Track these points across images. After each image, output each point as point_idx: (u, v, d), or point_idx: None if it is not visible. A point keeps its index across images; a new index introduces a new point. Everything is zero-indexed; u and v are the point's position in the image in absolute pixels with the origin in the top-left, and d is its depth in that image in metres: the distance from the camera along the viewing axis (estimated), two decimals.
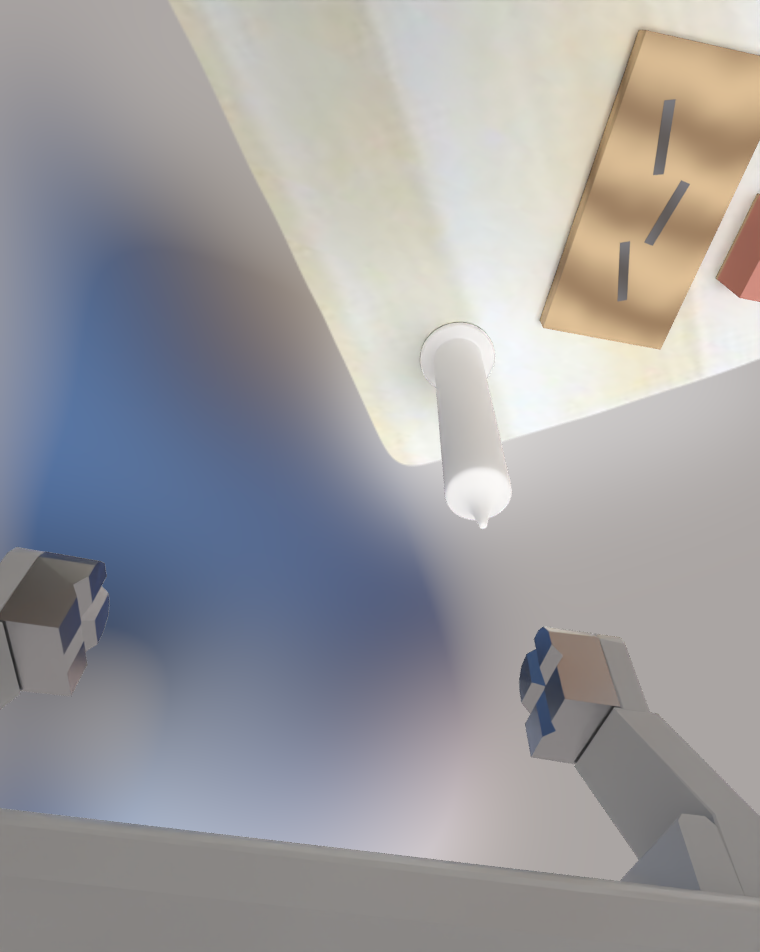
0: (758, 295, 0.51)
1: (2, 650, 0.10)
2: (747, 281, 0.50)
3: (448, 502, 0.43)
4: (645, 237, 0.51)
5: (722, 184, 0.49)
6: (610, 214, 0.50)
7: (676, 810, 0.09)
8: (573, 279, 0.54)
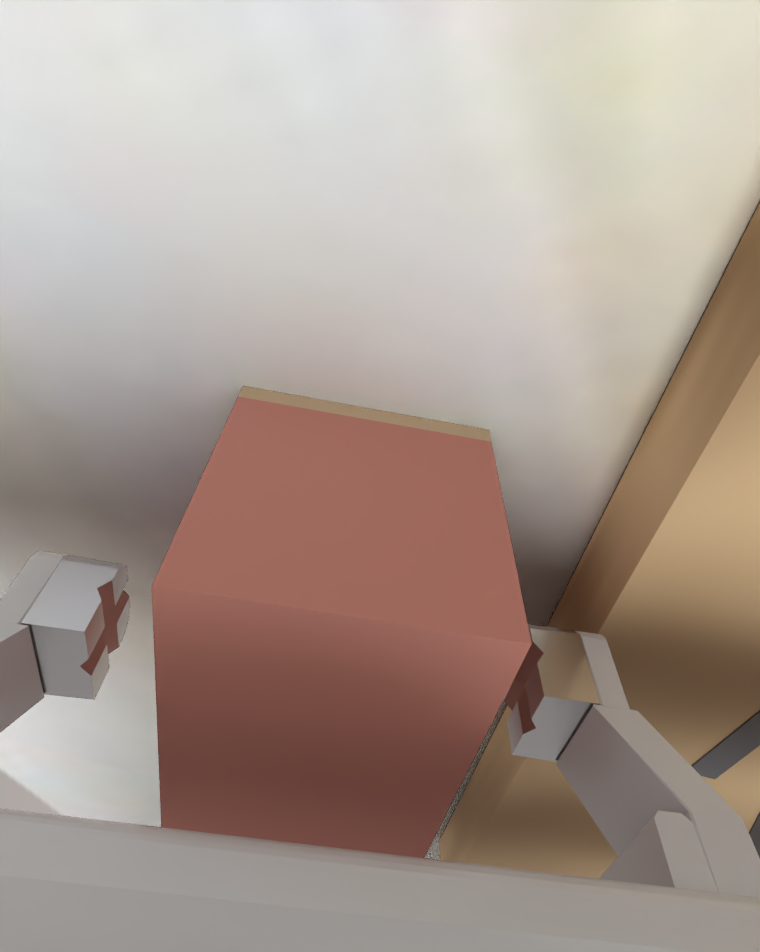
0: (412, 651, 0.08)
1: (27, 653, 0.10)
2: (498, 703, 0.08)
3: None
4: None
5: None
6: None
7: (654, 807, 0.09)
8: None
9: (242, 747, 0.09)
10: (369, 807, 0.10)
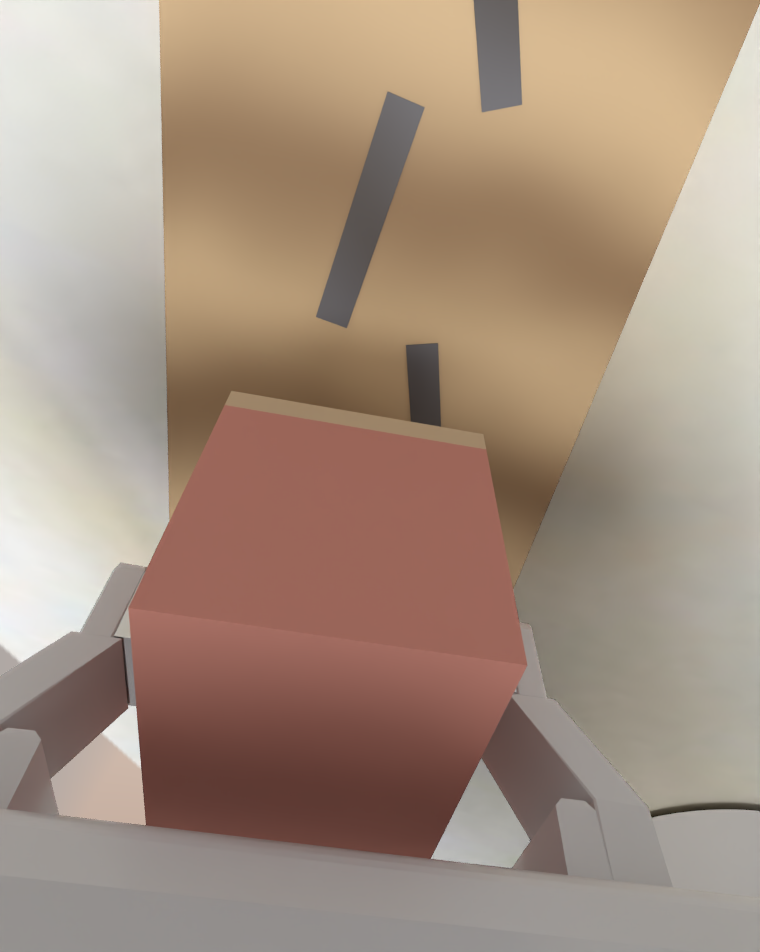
0: (402, 674, 0.07)
1: (118, 666, 0.10)
2: (493, 725, 0.08)
3: None
4: (422, 129, 0.13)
5: (215, 314, 0.15)
6: (566, 219, 0.14)
7: (563, 795, 0.09)
8: None
9: (228, 771, 0.09)
10: (362, 831, 0.10)
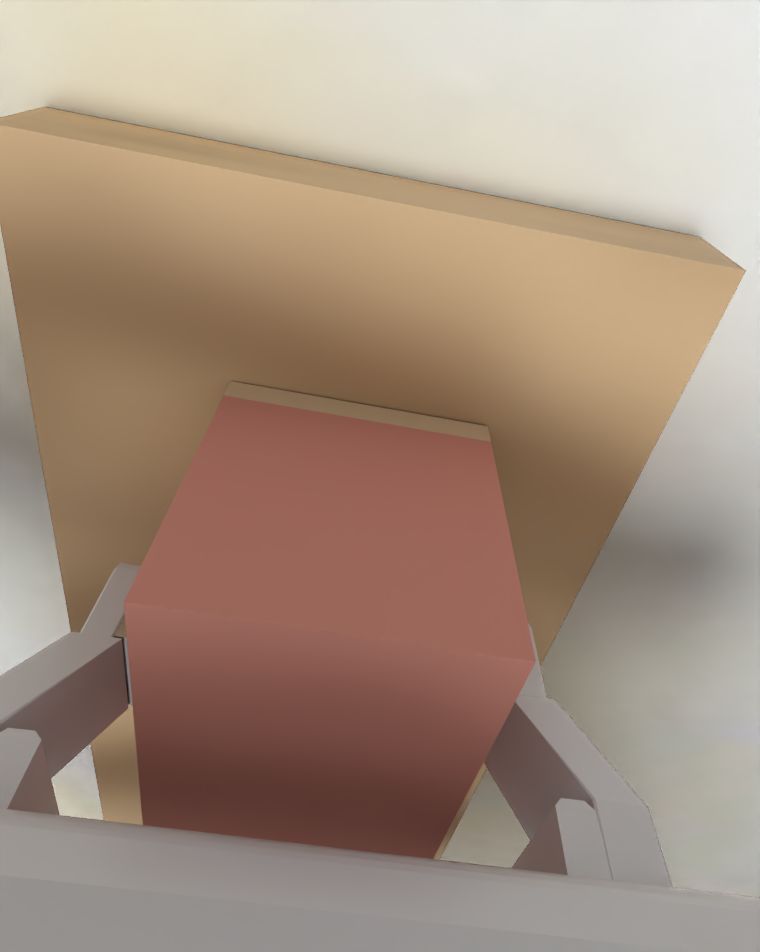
0: (407, 670, 0.07)
1: (118, 666, 0.10)
2: (500, 724, 0.08)
3: None
4: None
5: (132, 716, 0.17)
6: None
7: (563, 795, 0.09)
8: (567, 499, 0.12)
9: (227, 769, 0.09)
10: (364, 830, 0.09)
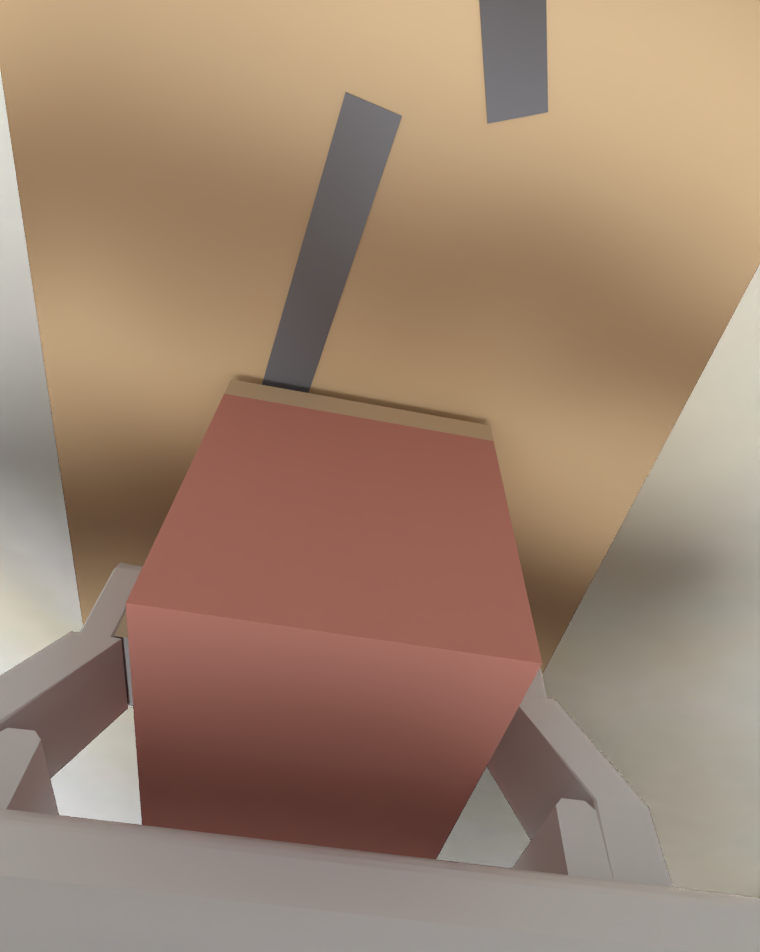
0: (412, 672, 0.07)
1: (118, 666, 0.10)
2: (505, 725, 0.08)
3: None
4: (399, 149, 0.09)
5: (119, 399, 0.11)
6: (606, 275, 0.10)
7: (563, 796, 0.09)
8: None
9: (229, 772, 0.08)
10: (365, 832, 0.09)
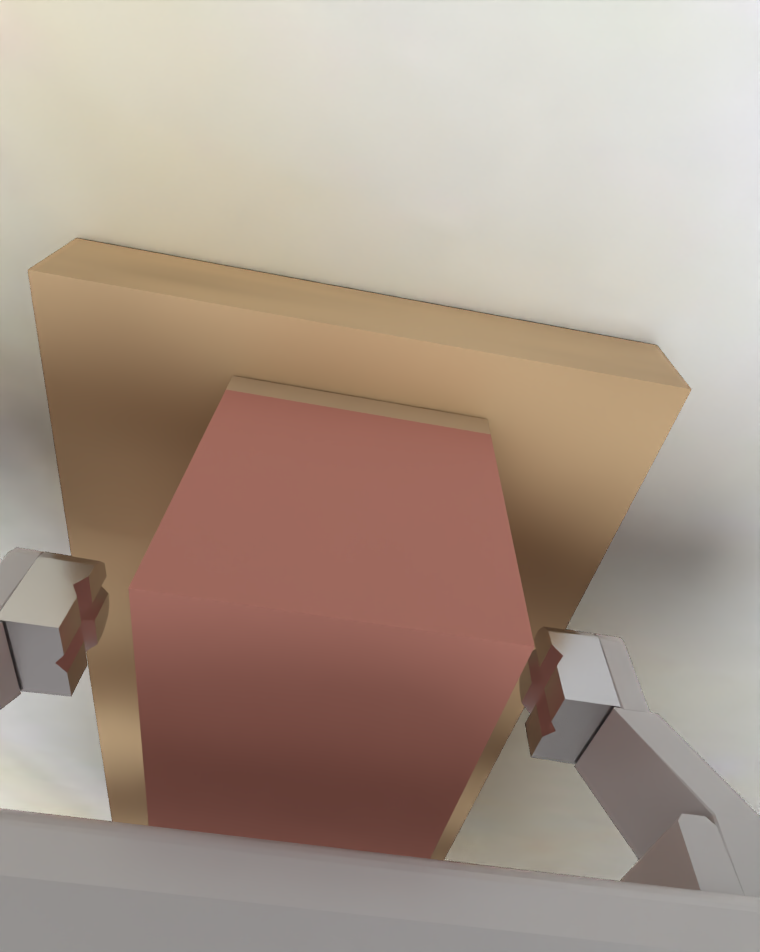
0: (407, 656, 0.07)
1: (2, 650, 0.10)
2: (500, 709, 0.08)
3: None
4: None
5: None
6: None
7: (676, 810, 0.09)
8: (541, 572, 0.13)
9: (231, 757, 0.09)
10: (366, 818, 0.09)
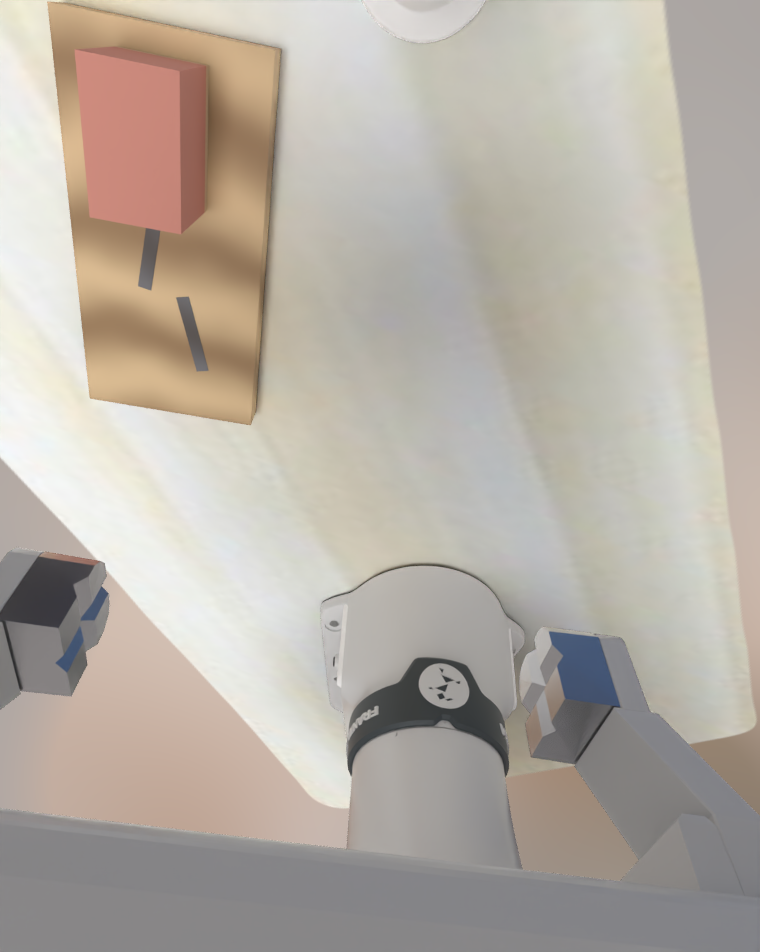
0: (148, 76, 0.28)
1: (2, 650, 0.10)
2: (180, 105, 0.28)
3: None
4: None
5: (98, 285, 0.38)
6: (224, 247, 0.37)
7: (676, 810, 0.09)
8: (247, 148, 0.34)
9: (108, 134, 0.29)
10: (154, 172, 0.30)
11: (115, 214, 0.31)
